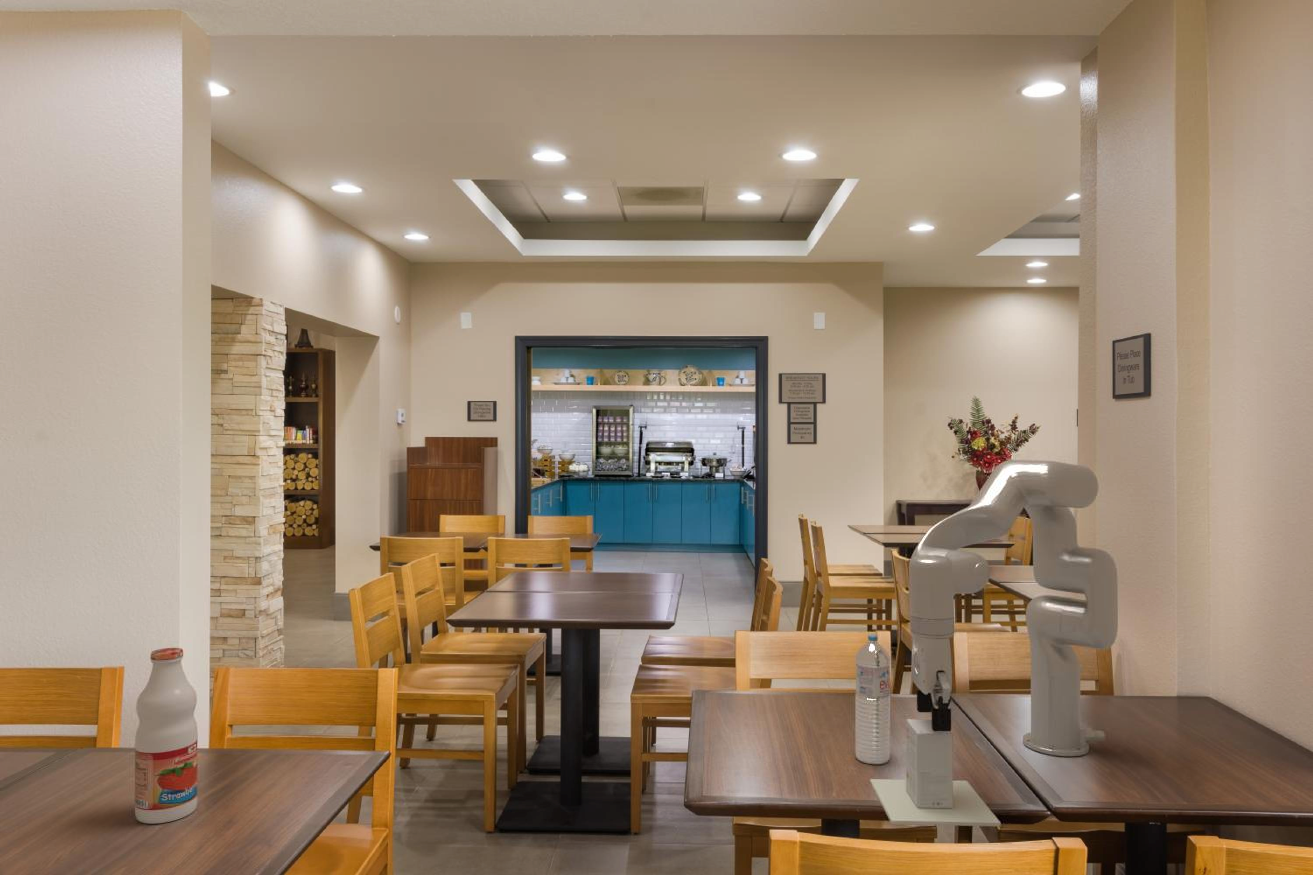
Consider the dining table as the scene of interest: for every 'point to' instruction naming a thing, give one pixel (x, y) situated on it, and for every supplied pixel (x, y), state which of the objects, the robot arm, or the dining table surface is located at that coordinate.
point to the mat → (905, 811)
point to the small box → (929, 765)
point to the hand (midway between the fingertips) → (933, 720)
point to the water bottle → (872, 703)
